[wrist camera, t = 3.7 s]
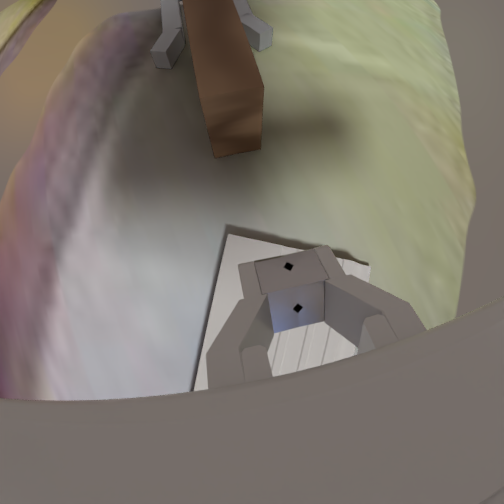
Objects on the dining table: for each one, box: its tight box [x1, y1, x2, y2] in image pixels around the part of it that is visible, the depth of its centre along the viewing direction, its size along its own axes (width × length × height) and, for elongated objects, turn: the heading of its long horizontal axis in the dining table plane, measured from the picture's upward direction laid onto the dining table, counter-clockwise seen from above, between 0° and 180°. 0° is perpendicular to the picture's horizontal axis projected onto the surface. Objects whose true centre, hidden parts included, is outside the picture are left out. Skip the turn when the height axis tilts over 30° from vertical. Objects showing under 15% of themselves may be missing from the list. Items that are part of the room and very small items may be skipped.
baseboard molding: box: [194, 234, 371, 391], centre depth 19 cm, size 31×3×12 cm
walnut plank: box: [182, 0, 264, 158], centre depth 20 cm, size 4×12×8 cm, turn 12°
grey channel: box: [150, 0, 273, 69], centre depth 24 cm, size 11×14×4 cm
